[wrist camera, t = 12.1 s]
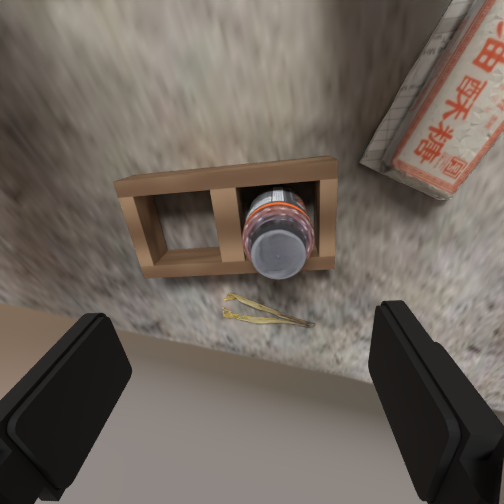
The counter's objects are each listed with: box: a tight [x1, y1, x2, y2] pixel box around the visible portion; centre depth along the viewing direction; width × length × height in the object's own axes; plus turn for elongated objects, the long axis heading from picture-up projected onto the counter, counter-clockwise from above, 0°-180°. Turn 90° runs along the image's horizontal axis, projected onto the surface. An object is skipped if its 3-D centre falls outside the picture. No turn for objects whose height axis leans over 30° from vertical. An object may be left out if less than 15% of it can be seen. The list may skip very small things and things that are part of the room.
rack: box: [113, 156, 338, 278], centre depth 27 cm, size 11×21×4 cm, turn 96°
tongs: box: [222, 293, 316, 328], centre depth 35 cm, size 4×13×2 cm, turn 81°
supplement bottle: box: [242, 185, 315, 280], centre depth 23 cm, size 6×6×11 cm
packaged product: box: [359, 0, 504, 200], centre depth 21 cm, size 18×5×10 cm
